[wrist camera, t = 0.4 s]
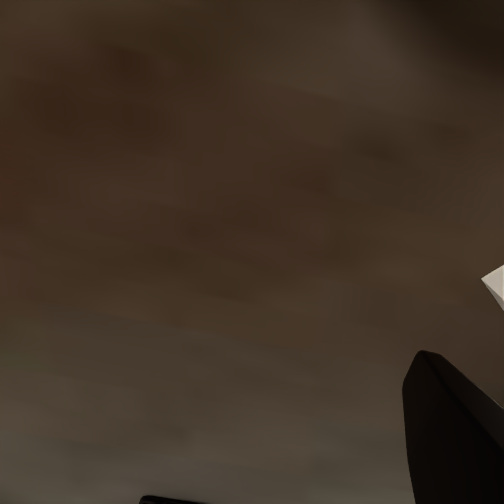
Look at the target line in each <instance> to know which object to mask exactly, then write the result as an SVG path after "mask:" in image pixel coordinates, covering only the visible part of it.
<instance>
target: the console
mask: <svg viewBox="0 0 504 504" xmlns="http://www.w3.org/2000/svg"><path fill="white" fill-rule="evenodd" d="M481 280H482V281H483V282H484V284H485V285H486V287H487V288H488V289H489V291H490V292H491V293H492V295H493V296H494V298H495V299H496V300H497V302H498V303H499V305H500V306H501V307H502V309H503V310H504V265H503V266H501V267H499V268H498V269H496V270H494V271H493V272H491V273H489V274H488V275H486V276H485V277H483V278H481Z"/></svg>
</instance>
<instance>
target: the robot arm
mask: <svg viewBox="0 0 504 504" xmlns="http://www.w3.org/2000/svg"><path fill="white" fill-rule="evenodd" d="M402 396H403V409H404V422H405V436H406V449H407V459H408V465H409V471H410V477H411V482H412V487H413V493H414V498H415V503H416V504H504V408H502V407H501V406H500V405H499V404H498V403H497V402H495V401H494V400H493V399H492V398H491V397H490V396H488V395H487V394H486V393H485V392H484V391H483V390H481V389H480V388H479V387H478V386H477V385H476V384H474V383H473V382H472V381H471V380H470V379H469V378H467V377H466V376H465V375H464V374H463V373H462V372H460V371H459V370H458V369H457V368H456V367H455V366H453V365H452V364H451V363H450V362H449V361H448V360H446V359H445V358H444V357H443V356H442V355H440V354H437V353H433V352H429V351H425V350H421V351H419V352H418V353H417V354H416V355H415V357H414V360H413V362H412V364H411V366H410V368H409V370H408V373H407V375H406V377H405V379H404V382H403V387H402ZM139 504H195V503H189V502H183V501H177V500H170V499H164V498H158V497H152V496H143V497H142V498H141V499H140V502H139Z"/></svg>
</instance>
